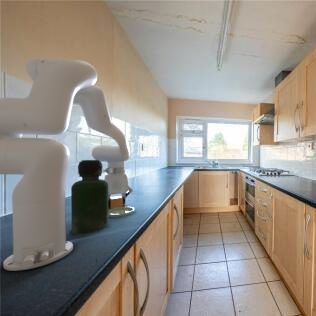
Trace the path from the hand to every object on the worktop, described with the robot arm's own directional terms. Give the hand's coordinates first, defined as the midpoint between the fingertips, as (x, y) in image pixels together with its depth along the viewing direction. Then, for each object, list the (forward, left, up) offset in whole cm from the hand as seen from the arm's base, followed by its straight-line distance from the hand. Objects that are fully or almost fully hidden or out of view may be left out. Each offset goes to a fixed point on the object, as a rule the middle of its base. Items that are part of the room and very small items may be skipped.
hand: (116, 206), depth 92 cm
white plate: (-12, 0, 0) cm, 12 cm away
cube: (0, 0, 0) cm, 0 cm away
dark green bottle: (-24, +11, -1) cm, 26 cm away
